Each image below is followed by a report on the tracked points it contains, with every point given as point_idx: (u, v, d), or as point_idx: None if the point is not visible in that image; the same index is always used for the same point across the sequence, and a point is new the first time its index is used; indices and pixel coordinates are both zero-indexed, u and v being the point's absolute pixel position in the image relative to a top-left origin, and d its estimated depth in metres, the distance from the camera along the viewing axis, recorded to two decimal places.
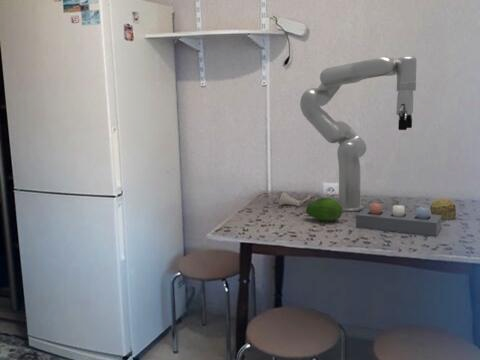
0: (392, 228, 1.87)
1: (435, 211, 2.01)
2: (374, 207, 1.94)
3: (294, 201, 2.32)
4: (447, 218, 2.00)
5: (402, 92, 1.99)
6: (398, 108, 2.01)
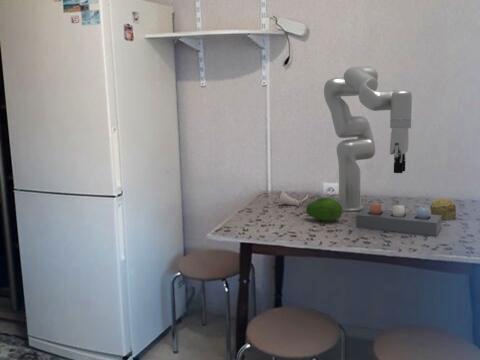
0: (392, 228, 1.87)
1: (435, 211, 2.01)
2: (374, 207, 1.94)
3: (293, 201, 2.33)
4: (447, 218, 2.00)
5: (396, 130, 1.82)
6: (392, 147, 1.83)
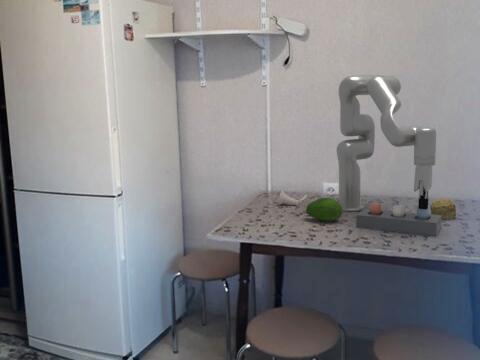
0: (392, 228, 1.87)
1: (435, 211, 2.01)
2: (374, 207, 1.94)
3: (292, 200, 2.33)
4: (447, 218, 2.00)
5: (421, 167, 1.80)
6: (416, 184, 1.81)
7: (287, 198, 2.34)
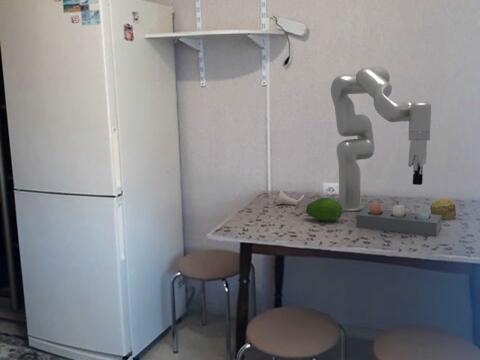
0: (392, 228, 1.87)
1: (435, 211, 2.01)
2: (374, 207, 1.94)
3: (292, 200, 2.34)
4: (447, 218, 2.00)
5: (415, 142, 1.79)
6: (410, 159, 1.80)
7: (286, 198, 2.34)
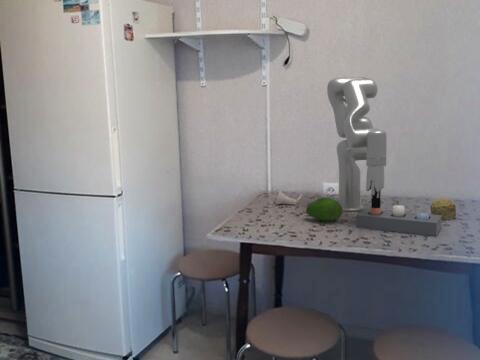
0: (392, 228, 1.87)
1: (435, 211, 2.01)
2: (374, 210, 1.94)
3: (291, 200, 2.34)
4: (447, 218, 2.00)
5: (372, 168, 1.89)
6: (367, 184, 1.90)
7: (285, 198, 2.35)
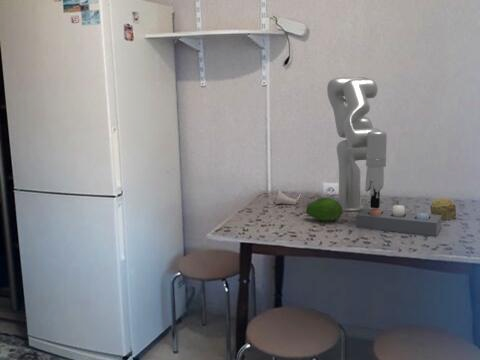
0: (392, 228, 1.87)
1: (435, 211, 2.01)
2: (374, 212, 1.94)
3: (290, 200, 2.35)
4: (447, 218, 2.00)
5: (371, 169, 1.89)
6: (367, 185, 1.91)
7: (285, 197, 2.35)
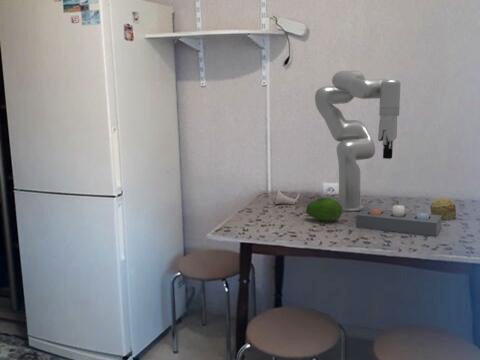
0: (392, 228, 1.87)
1: (435, 211, 2.01)
2: (374, 212, 1.94)
3: (290, 200, 2.35)
4: (447, 218, 2.00)
5: (384, 117, 1.89)
6: (380, 134, 1.90)
7: (284, 197, 2.35)
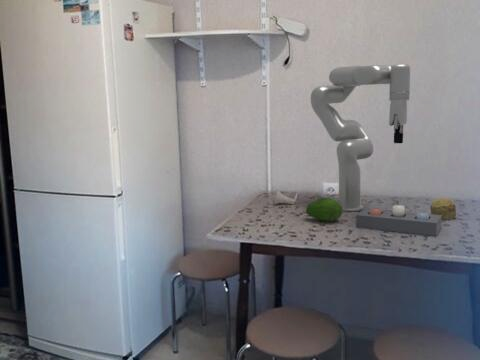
0: (392, 228, 1.87)
1: (435, 211, 2.01)
2: (374, 212, 1.94)
3: (289, 200, 2.36)
4: (447, 218, 2.00)
5: (395, 102, 1.90)
6: (391, 118, 1.91)
7: (283, 197, 2.36)
